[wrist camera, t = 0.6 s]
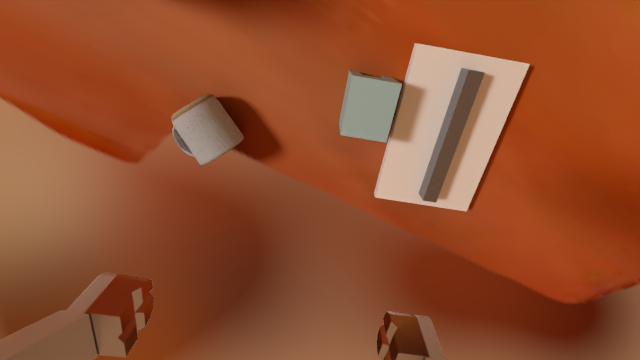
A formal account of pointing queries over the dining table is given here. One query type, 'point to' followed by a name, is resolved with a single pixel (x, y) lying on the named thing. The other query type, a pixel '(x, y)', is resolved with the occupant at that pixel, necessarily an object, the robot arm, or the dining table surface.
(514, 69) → the mounting board
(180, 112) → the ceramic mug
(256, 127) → the dining table surface
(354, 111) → the channel block
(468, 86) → the metal rail
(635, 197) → the dining table surface
